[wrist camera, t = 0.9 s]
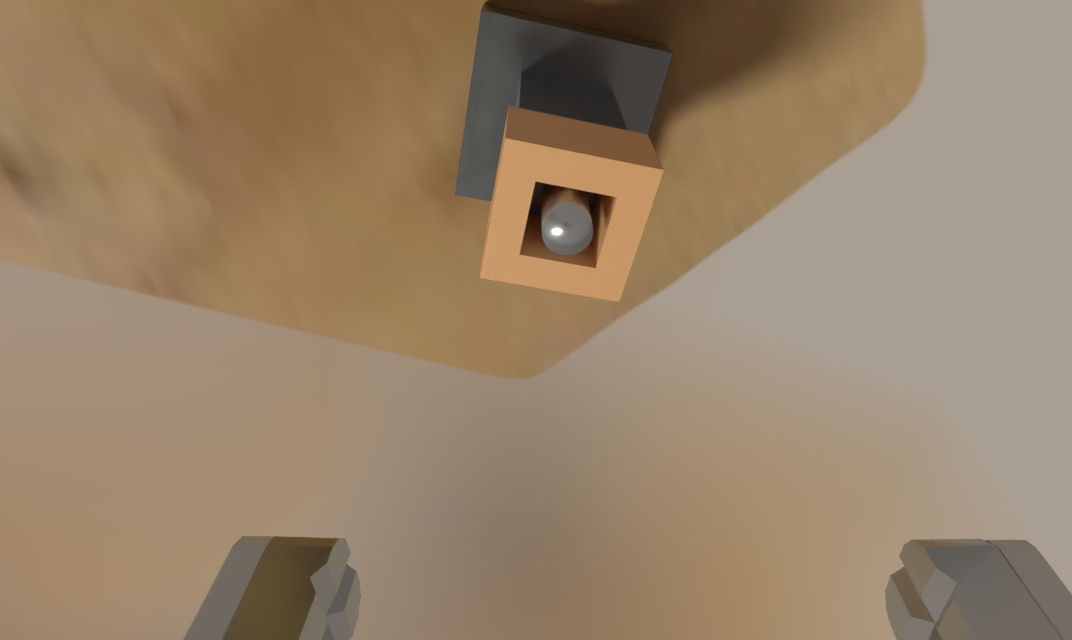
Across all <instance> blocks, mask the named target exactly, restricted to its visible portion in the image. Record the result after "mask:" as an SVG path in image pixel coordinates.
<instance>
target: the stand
mask: <svg viewBox="0 0 1072 640" xmlns="http://www.w3.org/2000/svg"><path fill="white" fill-rule="evenodd" d="M672 56H673V52H672V51H671V50H670V49H669V47H668V46H667V45H664V44H660V43H655V42H651V41H646V40H642V39H638V38H633V37H629V36H624V35H620V34H615V33H611V32H607V31H602V30H598V29H593V28H589V27H585V26H580V25H576V24H571V23H567V22H563V21H558V20H554V19H549V18H545V17H541V16H536V15H532V14H527V13H523V12H518V11H514V10H510V9H505V8H501V7H496V6H492V5H488V4H484V5H483V7H482V10H481V16H480V23H479V30H478V37H477V44H476V51H475V58H474V65H473V72H472V79H471V86H470V93H469V100H468V107H467V114H466V121H465V128H464V135H463V142H462V149H461V156H460V163H459V170H458V177H457V184H456V191H455V195H460V196H466V197H471V198H476V199H482V200H487V201H492V196H493V191H494V185H495V179H496V174H497V168H498V163H499V157H500V152H501V146H502V141H503V135H504V129H505V124H506V118H507V113H508V107H509V106H513V107H518V108H522V109H527V110H532V111H537V112H542V113H546V114H551V115H556V116H561V117H566V118H570V119H575V120H580V121H585V122H590V123H594V124H599V125H604V126H609V127H614V128H618V129H623V130H628V131H633V132H638V133H643V134H647V135H648V133H649V130H650V126H651V123H652V120H653V117H654V114H655V110H656V107H657V104H658V101H659V98H660V94H661V91H662V88H663V85H664V82H665V79H666V75H667V72H668V69H669V66H670V63H671V59H672ZM597 194H598V193H592V192H587V191H582V190H577V189H572V188H567V187H562V186H556V185H551V184H546V183H541V182H536V181H535V185H534V190H533V195H532V199H531V204H530V208H529V214H534V215H540V216H541V224H542V238H543V241H544V243H545V245H546V246H547V247H548V248H549V249H550V250H551V251H553V252H555V253H557V254H560V255H573V254H577V253H579V252H581V251H583V250H584V249H585V248H586V247H587V246H588V245H589V244H590V242H591V240H592V237H593V225H592V219H591V215H592V211H593V208H594V204H595V201H596V197H597Z"/></svg>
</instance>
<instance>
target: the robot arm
mask: <svg viewBox="0 0 1072 640" xmlns="http://www.w3.org/2000/svg"><path fill="white" fill-rule="evenodd" d="M349 555H350V550H349V547H348V545H347V542H346V539H345V538H311V537H278V536H242V537H241V538H240V539H239V540H238V541H237V542H236V543H235V544H234V545H233V546H232V548H231V550H230V552H229V554H228V556H227V557H226V559H225V561H224V563H223V565H222V567H221V569H220V571H219V573H218V575H217V576H216V578H215V580H214V582H213V584H212V586H211V588H210V590H209V592H208V593H207V595H206V597H205V599H204V601H203V603H202V605H201V607H200V609H199V611H198V613H197V615H196V616H195V618H194V620H193V622H192V624H191V626H190V628H189V629H188V631H187V633H186V635H185V637H184V639H183V640H349V639H350V638H351V637H352V636H353V633H354V629H355V626H356V622H357V618H358V613H359V604H360V596H361V595H360V583H359V578H358V575H357V572H356V571H355V570H354V569H353V568H351V567H350V566H348V565H347V561H348V558H349ZM899 556H900V558H901V560H902V562H903V564H904V567H903V568H901V569H900V570H898V571H897V572H895V573H894V574H892V575H891V576H890V579H889V582H888V585H887V587H886V590H885V593H886V610H887V614H888V618H889V621H890V625H891V627H892V629H893V631H894V634H895V636H896V639H897V640H1072V595H1071V593H1070V592H1069V590H1068V589H1067V588H1066V586H1065V585H1064V584H1063V582H1062V581H1061V580H1060V579H1059V577H1058V576H1057V574H1056V573H1055V572H1054V570H1053V569H1052V568H1051V567H1050V565H1049V564H1048V562H1047V561H1046V560H1045V558H1044V557H1043V556H1042V555H1041V553H1040V552H1039V551H1038V550H1037V548H1036V547H1035V546H1033V545H1032V544H1030V543H1029V542H1027V541H1025V540H982V539H936V540H934V539H933V540H932V539H931V540H911V541H909V542H907V543H906V544H904V546H903V549H902V551H901V553H900V555H899Z"/></svg>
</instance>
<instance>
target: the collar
mask: <svg viewBox="0 0 1072 640" xmlns="http://www.w3.org/2000/svg"><path fill="white" fill-rule="evenodd" d="M663 171H664V169H663V167H662V165H661V163H660V161H659V158H658V156H657V154H656V152H655V149H654V147H653V145H652V143H651V141H650V138H649V136H648V135H647V134H643V133H638V132H633V131H628V130H623V129H618V128H614V127H609V126H604V125H599V124H594V123H590V122H585V121H580V120H575V119H570V118H566V117H561V116H556V115H551V114H546V113H542V112H537V111H532V110H527V109H522V108H518V107H513V106H509V107H508V113H507V118H506V124H505V129H504V135H503V141H502V146H501V152H500V157H499V163H498V168H497V174H496V179H495V185H494V191H493V196H492V202H491V207H490V213H489V218H488V224H487V230H486V236H485V243H484V251H483V258H482V266H481V273H480V278H484V279H490V280H496V281H502V282H507V283H513V284H519V285H525V286H530V287H536V288H542V289H548V290H553V291H559V292H565V293H571V294H576V295H582V296H588V297H594V298H599V299H605V300H611V301H617V302H619V301H620V298H621V295H622V292H623V289H624V286H625V283H626V280H627V277H628V275H629V272H630V269H631V266H632V263H633V260H634V257H635V254H636V251H637V248H638V245H639V242H640V239H641V236H642V233H643V230H644V227H645V224H646V221H647V218H648V215H649V212H650V210H651V207H652V204H653V201H654V198H655V195H656V192H657V189H658V186H659V183H660V180H661V177H662V174H663ZM535 181H536V182H541V183H546V184H551V185H556V186H562V187H567V188H572V189H577V190H582V191H587V192H592V193H598V194H597V197H596V201H595V204H594V208H593V211H592V215H591V219H592V225H593V237H592V240H591V242H590V244H589V245H588V246H587V247H586V248H585V249H584V250H583V251H581V252H579V253H577V254H573V255H560V254H557V253H555V252H553V251H551V250H550V249H549V248H548V247H547V246H546V245H545V243H544V241H543V238H542V224H541V216H540V215H534V214H529V208H530V204H531V199H532V195H533V190H534V185H535Z"/></svg>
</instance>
